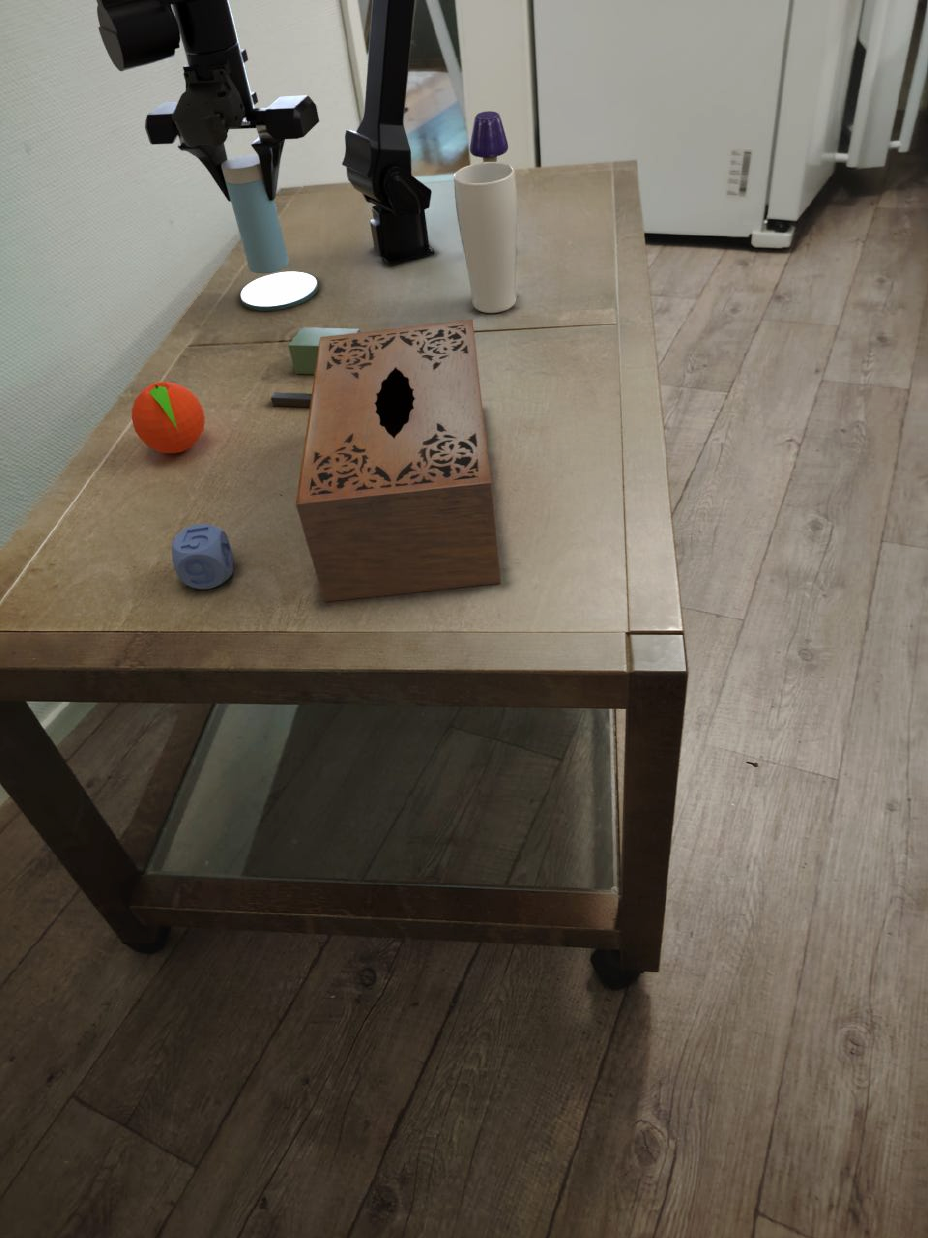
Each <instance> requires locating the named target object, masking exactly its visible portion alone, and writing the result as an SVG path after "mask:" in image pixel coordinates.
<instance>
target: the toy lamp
mask: <svg viewBox="0 0 928 1238" xmlns="http://www.w3.org/2000/svg"><path fill="white" fill-rule="evenodd" d="M502 121H503V120H502V118H501V116H500V113H499V112H496V111H489V110H488V111H487V110H486V111H481V112H479V113H477V114H476V115H475V117H474V119H473V124H472V129H471V130H472V131H471V136H470V142H469V143H470V144H469V152H470V154H471V155H472V156H473V157H476V158H481V159H482V163H483V162H498V157H500V156H502V155H504V154H506V153H507V151H508V150H509V143H508V139H507V135H506V132H505V128H504V125H503V122H502Z"/></svg>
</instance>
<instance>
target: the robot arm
mask: <svg viewBox="0 0 928 1238" xmlns="http://www.w3.org/2000/svg"><path fill="white" fill-rule="evenodd" d="M96 3H97V6H96V14H97V21H98V24H99V26H98V32H99V35H100V38H101V40H102V43H103V46H104V48H105V50H106V52H107V55H108V57H109V59H110V60H111V62H112V63H113V65H114V66H115V68H116V69H117V70H118V71H119V72H124V71H125V72H126V71H128V70H132V69H136V68H140V67H144V66H147V65H151V64H154V63H159V62H161V61H166V60H169V59H173V58H174V57H175V54H176V50H178V49H180V48H181V47H180V43H182V47H183V51H184V54H185V58H186V61H187V64H185V65H184V66H182V69H183V78H184V82H185V91H184V92H183V93H182V94H181V95H180V97H179V99H178V101H168V102H167V101H166V102H163V103H162V104H161V105H159V106H158V107H156V108H155V109H154V110H152V111H151V112H149V113H148V114H146V116H145V121H144V130H145V132H146V135H147V139H148V142H149V144H150V145H154V146H155V145H172V144H174V143H175V142H176V140H177V139H178V140H179V144H177V148H178V149H179V151H180V152H181V151H182V152H188V153H189V154H191V155H193V156H194V157H196V158H197V159H198V160H199V162H201V164H202V165H203V167H204V168H205V169H206V170H207V172H208V173H209V174H210V176H211V178H212V179H213V180H214V182H215V183H216V185H217V186H218V188H219V190H220V191H221V192H222V194H223V196H224V197H225V198H226V200H227V201H228V202H229V203H231V200H230V196H229V193H228V189H227V185H226V182H225V178H224V174H223V171H222V167H221V165H222V163H223V162H225V161H226V160H228V159H229V158H228V154H227V151H226V145H225V143H226V141H227V139H228V137H229V136H228V133H229V130H243V129H247V130H249V129H256V131H257V134H258V138H256V139H255V140H254V141H253V142H252V143H251V147H252V149H253V150H254V151H255V153H256V155H258V156H259V160H260V165H261V170H262V175H263V179H264V184H265V189H266V192H267V195H268V198H269V200H270V201H273V200H276V198H277V191H278V182H279V175H280V167H281V162H282V161H281V160H282V155H283V151H284V146H285V143H286V140H298V139H302V138H304V137H306V136H307V134H308V133H310V132H311V130H312V129H314V127H316V126H317V124H318V123H319V122H320V117H319V112H318V107H317V104H316V103H315V101H314V100H313V99H312V98H311V97H310V95H308V94H305V95H304V94H303V95H286V96H285V95H284V96H279V97H278V98H277V99H275V100H274V101H273V102H272V103H270V104H269V105H268V107H256V108H255V105H257V104H258V103H259V98H258V94H257V91H251V87H250V84H249V83H250V82H249V79H248V74H247V71H246V67H245V63H247V62H248V61H249V57H248V52H247V49H246V48H244V49H243V48H242V49H241V47H240V43H239V39H238V34H237V30H236V25H235V21H234V17H233V14H232V10H231V5H230V2H229V0H96ZM371 3H372V4H371V16H370V29H369V43H368V55H367V56H368V57H367V68H366V69H367V70H366V71H367V72H366V82H365V83H366V84H365V95H364V97H365V98H364V111H363V116H362V118H361V121H360V123H359V124H358V127H357V129H356V130H355V131H354V130H351V129H346V130H345V134H344V144H345V151H344V152H345V153H344V158H343V159H342V162H341V165H342V166H343V167H345V168H346V176H347V177H346V178H347V181H348V182H350V185H351V186H352V187H353V188H354V189H355V190H357V191H358V192H359V193H361V194H362V196H363V198H364V200H365V202H366V203H369V204H372V205H373V206H371V212H372V218H373V219H370V221H369V224H370V231H371V236H372V241H373V242H372V243H373V248H374V251H375V253H376V254H377V255H378V256H379V257H380V258H381V259H383V260H384V261H385V262H386V263H387V265H388V266H395V265H398V264H402V263H406V262H410V261H412V260H416V259H419V258H425V257H427V256H431V255H434V254H435V249H434V248H433V247H432V246H431V245H430V241H429V233H428V228H427V227H428V226H427V225H428V224H427V218H426V217H427V216H426V210H427V209H429V208H430V206H431V199H432V193H433V192H432V189H431V188H430V187H428V186H427V185H425V184H424V183H423V182H422V181H420V180H419V179H418V178H416V177H415V176H413V173H412V172H413V171H412V169H413V168H412V151H411V147H410V144H409V140H408V139H409V138H408V135H407V132H406V128H405V124H404V123H405V121H404V119H405V110H406V109H405V108H406V99H407V98H406V97H407V90H408V89H407V88H408V78H409V67H410V56H411V47H412V37H413V24H414V17H415V16H414V13H415V6H416V5H415V3H416V0H372V1H371Z"/></svg>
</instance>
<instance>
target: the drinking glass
mask: <svg viewBox="0 0 928 1238" xmlns="http://www.w3.org/2000/svg"><path fill="white" fill-rule="evenodd" d="M453 186H454V189H453V190H454V199H455V210H456V217H457V223H458V227H459V233H460V238H461V244H462V249H463V255H464V259H465V260H464V261H465V266H466V270H467V276H468V282H469V287H470V288H469V289H470V295H471V296H470V297H471V303H472V306H473V307H474V308H475V310H477V311H479V312H482V313H486V314H496V313H502V312H505V311H507V310H510V309H511V308H512V307H513V306H515V304H516V302H517V248H518V247H517V245H518V244H517V243H518V194H517V193H518V192H517V179H516V171H515V167H513V166H512V165H510V164H509V163H505V162H499V161H497V162H483V161H482V162H477V163H472V164H468V165H466V166H464V167H461V168H460V169H457V171H456V172H455V173H454V175H453Z"/></svg>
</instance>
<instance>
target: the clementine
mask: <svg viewBox="0 0 928 1238" xmlns="http://www.w3.org/2000/svg"><path fill="white" fill-rule="evenodd" d="M205 419H206V418H205V413H204V409H203V406H202V404H201V402H200V400H199V398H198V397H197V396H196V395H195V394H194V393H193V392H192V391H191V390H190V389H189V388H187V387H185V386H183V385H181V384H178V383H174V382H169V381H160V382H155V383H152V384H149V385H148V386H146V387H145V388H144V389H142V391H141V392H140V393H139V394H138V395H137V397H135V399H134V403H133V404H132V409H131V421H132V425H133V429H134V432H135V433H136V435H137V436H138V438H139V439H140V440H141V441H142V443H144V444H145V445H146V446H148V447H149V448H151V449H153V450H155V451H158V452H160V453H165V454H177V453H182V452H185V451H187V450H188V449H190V448H192V447H193V446H194V445H195V444H196V443H197V442H198V441H199V440H200V438H201V436H202V434H203V432H204V428H205V421H206V420H205Z"/></svg>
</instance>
